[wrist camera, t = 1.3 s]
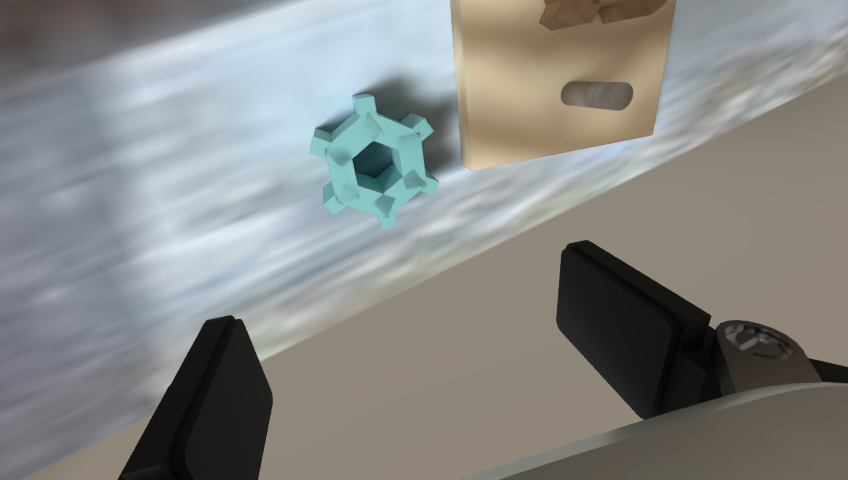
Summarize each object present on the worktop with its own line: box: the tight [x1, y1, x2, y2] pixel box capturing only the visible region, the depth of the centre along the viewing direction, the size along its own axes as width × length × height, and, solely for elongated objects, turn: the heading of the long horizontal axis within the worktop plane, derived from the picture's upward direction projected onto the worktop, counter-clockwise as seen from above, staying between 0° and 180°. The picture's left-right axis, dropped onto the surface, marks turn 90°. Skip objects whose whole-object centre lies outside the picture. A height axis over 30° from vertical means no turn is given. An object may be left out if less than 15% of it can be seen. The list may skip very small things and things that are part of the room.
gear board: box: [450, 0, 676, 171], centre depth 22 cm, size 17×16×7 cm
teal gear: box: [309, 94, 439, 229], centre depth 24 cm, size 8×8×4 cm
